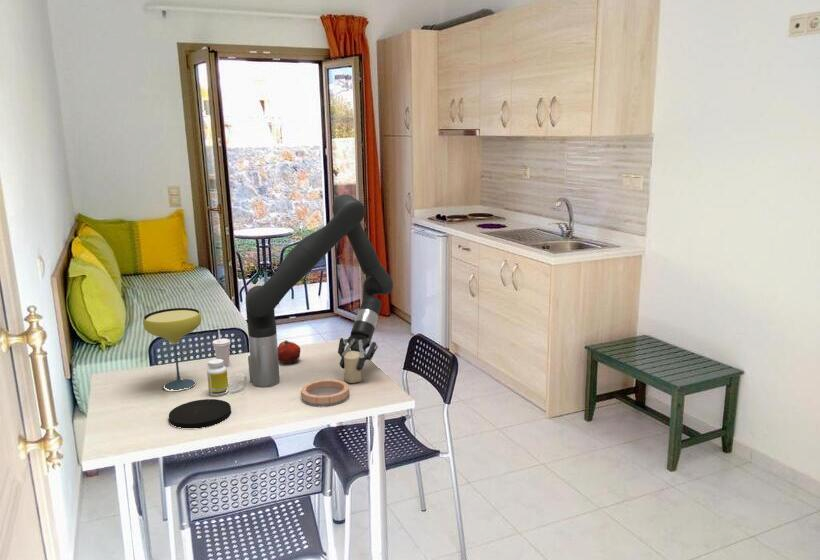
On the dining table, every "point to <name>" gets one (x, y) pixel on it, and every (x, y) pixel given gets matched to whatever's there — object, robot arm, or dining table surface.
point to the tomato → (288, 352)
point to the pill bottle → (217, 377)
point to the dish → (325, 392)
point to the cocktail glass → (173, 333)
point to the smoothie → (222, 349)
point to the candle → (351, 367)
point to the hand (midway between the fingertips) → (350, 368)
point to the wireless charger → (200, 413)
